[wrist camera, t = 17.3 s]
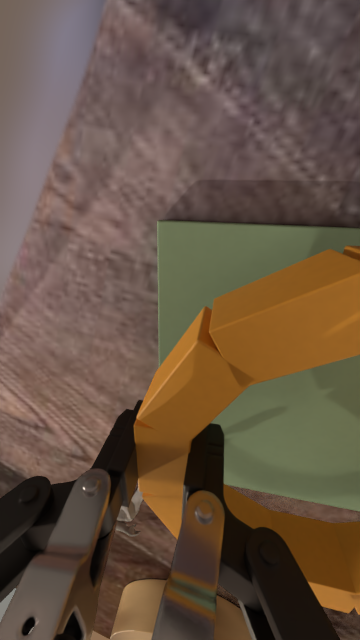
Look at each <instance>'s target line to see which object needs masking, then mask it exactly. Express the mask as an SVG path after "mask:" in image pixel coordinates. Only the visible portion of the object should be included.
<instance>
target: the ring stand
mask: <svg viewBox="0 0 360 640" xmlns="http://www.w3.org/2000/svg"><path fill="white" fill-rule="evenodd" d="M166 581H167V580H159V579H145V580H138V581H134V582H132V583H129V584H128V585H127V586H126V587H125V588H124V590H123V594H122V597H121V601H120V605H119V608H118V612H117V616H116V619H115V623H114V627H113V630H112V634H111V638H110V640H151V639H152V635H153V630H154V626H155V622H156V618H157V614H158V610H159V606H160V602H161V598H162V594H163V590H164V587H165V584H166ZM213 640H252V638H251V635H250V633H249V630H248V627H247V624H246V621H245V619H244V616H243V613H242V610H241V609H239V608H238V607H237V606H235V605H234V604H232V603H231V602H229V601H227V600H225V599H224V598H222V597H220V596H218V595H217V606H216V619H215V629H214V639H213Z"/></svg>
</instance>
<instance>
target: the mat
mask: <svg viewBox="0 0 360 640" xmlns="http://www.w3.org/2000/svg"><path fill="white" fill-rule="evenodd" d="M157 235H158V322H159V367H160V366H161V365H162V363H163V362H164V361H165V359H166V358H167V356H168V355H169V354H170V352H171V351H172V350H173V348H174V347H175V346H176V344H177V343H178V342H179V340H180V339H181V338H182V336H183V335H184V333H185V332H186V331H187V329H188V328H189V327H190V325H191V324H192V323H193V321H194V320H195V319H196V317H197V316H198V315H199V313H200V312H201V311H202V309H203V308H204V307H205V306H207V307H208V308H210V309H211V310H212V308H213V302H214V299H215V298H217V297H219V296H222V295H224V294H226V293H229V292H231V291H233V290H236V289H238V288H240V287H242V286H245V285H247V284H249V283H252V282H254V281H256V280H259V279H261V278H263V277H266V276H268V275H270V274H272V273H275V272H277V271H279V270H282V269H284V268H286V267H289V266H291V265H293V264H296V263H298V262H300V261H303V260H305V259H307V258H309V257H312V256H314V255H316V254H319V253H321V252H323V251H326V250H328V249H332V250H335V251H337V252H340V253H342V254H343V251H344V248H345V247H346V246H360V228H347V227H322V226H297V225H272V224H247V223H222V222H197V221H172V220H159V221H158V222H157ZM211 423H213V424H219V425H220V426H221V428H222V430H223V433H224V484H226V485H231V486H236V487H241V488H246V489H251V490H256V491H261V492H266V493H271V494H276V495H281V496H286V497H291V498H296V499H300V500H305V501H310V502H315V503H320V504H325V505H330V506H335V507H340V508H345V509H350V510H355V511H360V355H357V356H354V357H350V358H346V359H343V360H339V361H336V362H332V363H329V364H325V365H321V366H318V367H314V368H311V369H307V370H304V371H300V372H296V373H293V374H289V375H286V376H282V377H279V378H275V379H271V380H268V381H264V382H261V383H257V384H254V385H250V386H249V387H248V388H247V389H246V390H244V391H243V392H242V393H241V394H240V395H239V396H238V397H237V398H236V399H235V400H234V401H233V402H232V403H231V404H230V405H229V406H228V407H226V408H225V409H224V410H223V411H222V412H221V413H220V414H219V415H218V416H217V417H216V418H215V419H214V420H213V421H212V422H211Z"/></svg>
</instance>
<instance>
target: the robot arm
mask: <svg viewBox="0 0 360 640" xmlns="http://www.w3.org/2000/svg"><path fill="white" fill-rule="evenodd" d="M142 403H143V400H138V402H137V404H136V406H135V408H134V410H129V409H126V410H125V411H124V412H123V413H122V414H121V415H120V416H119V417H118V418H117V420H116V422H115V424H114V427H113V428H112V430H111V432H110V435H109V436H108V438H107V439H106V441H105V443H104V445H103V447H102V449H101V451H100V453H99V455H98V457H97V459H96V460H95V462H94V464H93V466H92V468H91V469H90V470H88V471H86V472H85V473H83V474H82V475H81V476H80V477H79V478H78V479H77V480H74V481H71V482H65V483H58V484H52V485H51V484H50V481H49V480H48V479H47V478H46V477H43V476H35V477H32V478H29V479H27V480H25V481H24V482H22V483H21V484H19V485H18V486H17V487H15V488H14V489H13V490H11V491H10V492H9V493H7V494H6V495H5V496H3V497H2V498H1V499H0V602H1V601H2V600H3V599H4V598H5V597H6V596H7V595H8V594H9V593H10V592H11V591H12V590H13V589H14V588H15V587H16V586H17V585H18V584H19V585H18V587H17V589H16V591H15V593H14V595H13V597H12V599H11V601H10V604H9V606H8V608H7V610H6V612H5V614H4V616H3V618H2V621H1V622H0V640H90V638H91V635H92V631H93V627H94V623H95V618H96V613H97V607H98V596H99V591H100V586H101V582H102V578H103V575H104V571H105V567H106V563H107V560H108V556H109V552H110V548H111V544H112V541H113V537H114V533H115V529H116V525H117V517H118V515H119V512H120V509H121V506H123V507H128V508H129V505H130V502H131V499H132V496H133V493H134V490H135V487H136V484H137V481H138V467H137V454H136V444H135V436H134V424H135V421H136V419H137V414H138V412H139V409H140V407H141V405H142ZM181 520H182V523H181V527H180V532H179V536H178V540H177V544H176V548H175V552H174V557H173V561H172V565H171V569H170V573H169V577H168V579H167V581H166V584H165V587H164V590H163V594H162V598H161V602H160V606H159V610H158V614H157V618H156V622H155V626H154V630H153V635H152V639H151V640H213V639H214V629H215V619H216V606H217V588H218V584H219V585H220V586H222V587H223V588H224V589H226V590H227V591H228V592H229V593H231V594H232V595H233V596H234V597H236V598H237V599H238V602H239V605H240V607H241V610H242V613H243V616H244V619H245V621H246V624H247V627H248V630H249V633H250V635H251V638H252V640H340V638H339V637H338V635H337V633H336V631H335V629H334V628H333V626H332V624H331V622H330V620H329V619H328V617H327V615H326V613H325V612H324V610H323V608H322V606H321V604H320V603H319V601H318V599H317V597H316V595H315V594H314V592H313V590H312V588H311V587H310V585H309V583H308V581H307V579H306V578H305V576H304V574H303V572H302V571H301V569H300V567H299V565H298V563H297V562H296V560H295V558H294V556H293V554H292V553H291V551H290V549H289V547H288V546H287V544H286V542H285V541H284V540H283V538H282V537H281V536H280V535H279V534H278V533H276V532H275V531H273V530H272V529H269V528H267V527H258V528H255V529H253V528H251V527H250V526H248V525H247V524H245V523H243V522H242V521H240V520H239V519H238V518H236V517H235V516H234V515H233V514H232V513H231V511H230V510H229V508H228V507H227V505H226V502H225V499H224V433H223V430H222V428H221V426H220V425H219V424H213V423H210V424H208V425H207V426H206V427H205V428H204V429H203V430H202V431H201V432H200V433H199V434H198V435H197V436H196V437H195V438H194V439H193V440H192V442H191V449H190V453H189V454H188V459H187V465H186V471H185V477H184V483H183V499H182V517H181ZM32 627H34V628H33V630H32V632H31V633H30V634H28V633H29V631H30V630H31V628H32Z"/></svg>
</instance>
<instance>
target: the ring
mask: <svg viewBox="0 0 360 640" xmlns="http://www.w3.org/2000/svg"><path fill="white" fill-rule="evenodd" d="M357 355H360V246H346V247H345V248H344V251H343V254H342V253H340V252H337V251H335V250H332V249H328V250H326V251H323V252H321V253H319V254H316V255H314V256H312V257H309V258H307V259H305V260H303V261H300V262H298V263H296V264H293V265H291V266H289V267H286V268H284V269H282V270H279V271H277V272H275V273H272V274H270V275H268V276H266V277H263V278H261V279H259V280H256V281H254V282H252V283H249V284H247V285H245V286H242V287H240V288H238V289H236V290H233V291H231V292H229V293H226V294H224V295H222V296H219V297H217V298H215V299H214V302H213V308H212V310H211V309H210V308H208V307H207V306H205V307H204V308H203V309H202V311H201V312H200V313H199V315H198V316H197V317H196V319H195V320H194V321H193V323H192V324H191V325H190V327H189V328H188V329H187V331H186V332H185V333H184V335H183V336H182V338H181V339H180V340H179V342H178V343H177V344H176V346H175V347H174V348H173V350H172V351H171V352H170V354H169V355H168V356H167V358H166V359H165V361H164V362H163V363H162V365H161V366H160V367H159V369H158V370H157V371H156V373H155V375H154V378H153V380H152V382H151V384H150V387H149V389H148V391H147V394H146V396H145V398H144V400H143V403H142V405H141V407H140V409H139V412H138V414H137V419H136V421H135V424H134V436H135V444H136V454H137V467H138V486H139V491H140V492H143V495H142V498H143V499H144V501H145V502H146V503H147V504H148V505H149V506H150V508H151V509H152V510H153V511H154V512H155V514H156V515H157V516H158V517H159V518H160V520H161V521H162V522H163V523H164V524H165V525H166V527H167V528H168V529H169V530H170V531H171V533H172V534H173V535H174V536H175V537H176V539H177V540H178V536H179V532H180V527H181V523H182V520H181V517H182V499H183V483H184V477H185V471H186V465H187V459H188V454H189V453H190V449H191V442H192V440H193V439H194V438H195V437H196V436H197V435H198V434H199V433H200V432H201V431H202V430H203V429H204V428H205V427H206V426H207V425H208V424H210V423H211V422H212V421H213V420H214V419H215V418H216V417H217V416H218V415H219V414H220V413H221V412H222V411H223V410H224V409H225V408H226V407H228V406H229V405H230V404H231V403H232V402H233V401H234V400H235V399H236V398H237V397H238V396H239V395H240V394H241V393H242V392H243V391H244V390H246V389H247V388H248V387H249V386H250V385H254V384H257V383H261V382H264V381H268V380H271V379H275V378H279V377H282V376H286V375H289V374H293V373H296V372H300V371H304V370H307V369H311V368H314V367H318V366H321V365H325V364H329V363H332V362H336V361H339V360H343V359H346V358H350V357H354V356H357ZM224 499H225V502H226V505H227V507H228V508H229V510H230V511H231V513H232V514H233V515H234V516H235V517H236V518H238V519H239V520H240V521H242V522H243V523H245V524H247V525H248V526H250V527H251V528H253V529H255V528H258V527H267V528H269V529H272V530H273V531H275V532H276V533H278V534H279V535H280V536H281V537H282V538H283V540H284V541H285V542H286V544H287V546H288V547H289V549H290V551H291V553H292V554H293V556H294V558H295V560H296V562H297V563H298V565H299V567H300V569H301V571H302V572H303V574H304V576H305V578H306V579H307V581H308V583H309V585H310V587H311V588H312V590H313V592H314V594H315V595H316V597H317V599H318V601H319V603H320V604H321V606H323V607H326V608H330V609H334V610H338V611H342V612H346V613H350V612H351V610H352V609H353V608H354V607H355V609H356V611H357V613H358V614H359V615H360V522H346V523H329V522H324V521H320V520H315V519H310V518H306V517H301V516H296V515H291V514H287V513H282V512H277V511H272V510H268V509H266V508H265V507H263V506H261V505H260V504H258V503H256V502H255V501H253V500H251V499H249V498H248V497H246V496H244V495H243V494H241V493H239V492H237V491H236V490H234V489H232V488H231V487H229V486H227V485H225V484H224Z"/></svg>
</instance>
